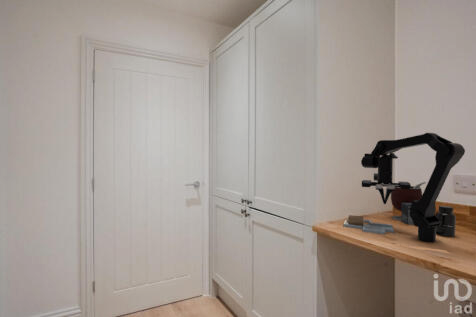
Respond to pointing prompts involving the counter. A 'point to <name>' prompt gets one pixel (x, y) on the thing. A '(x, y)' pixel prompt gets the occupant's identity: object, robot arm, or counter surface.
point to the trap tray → (372, 227)
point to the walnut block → (355, 220)
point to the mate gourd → (405, 197)
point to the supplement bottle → (446, 221)
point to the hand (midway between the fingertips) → (384, 203)
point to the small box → (406, 214)
